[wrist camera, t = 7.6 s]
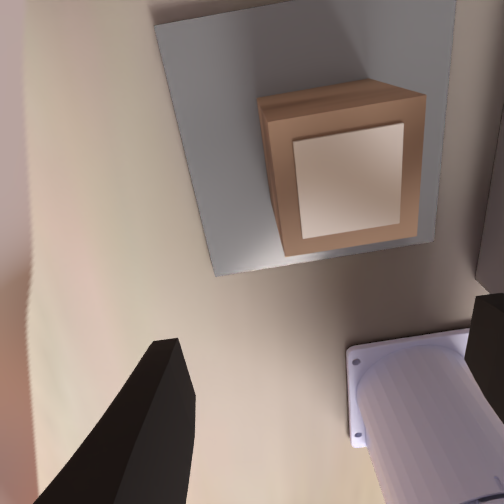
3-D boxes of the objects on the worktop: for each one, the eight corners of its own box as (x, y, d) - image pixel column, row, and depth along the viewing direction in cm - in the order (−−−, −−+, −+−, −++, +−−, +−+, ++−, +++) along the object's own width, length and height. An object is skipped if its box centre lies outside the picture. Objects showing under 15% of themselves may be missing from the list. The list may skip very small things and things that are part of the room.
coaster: (428, 236, 19) (433, 241, 19) (215, 270, 20) (215, 276, 19) (450, -28, 14) (459, -30, 13) (156, 26, 14) (153, 25, 14)
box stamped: (369, 186, 17) (418, 237, 13) (270, 202, 17) (285, 258, 13) (368, 78, 15) (428, 95, 11) (256, 97, 15) (268, 122, 11)
